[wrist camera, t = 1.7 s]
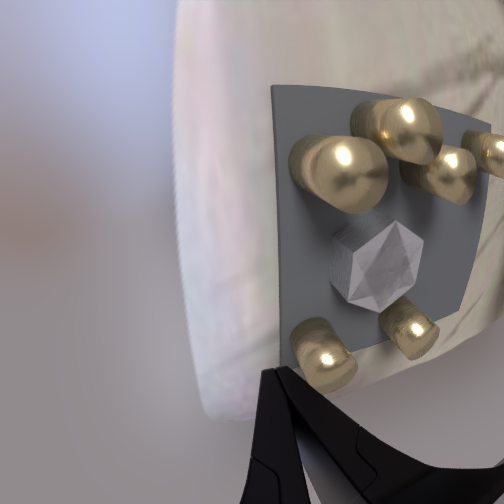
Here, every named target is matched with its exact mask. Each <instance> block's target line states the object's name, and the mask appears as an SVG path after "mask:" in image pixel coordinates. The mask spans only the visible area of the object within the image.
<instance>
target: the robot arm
mask: <svg viewBox="0 0 504 504" xmlns="http://www.w3.org/2000/svg"><path fill="white" fill-rule="evenodd" d="M301 461H302V462H301ZM302 464H303V466H304V468H305V470H306V472H307V474H308V477H309V478H310V481H311V483H312V485H313V487H314V489H315V491H316V493H317V495H318V497H319V500H320V502H321V504H504V459H503V460H501V461H500V462H499V463H498V464H496V465H495V466H494V467H493V468H484V469H483V468H482V469H455V468H454V469H453V468H452V469H451V468H438V467H433V466H430V465H427V464H424V463H422V462H420V461H418V460H416V459H414V458H411V457H410V456H408V455H406V454H404V453H402V452H400V451H398V450H396V449H395V448H393V447H391V446H389V445H388V444H386V443H384V442H383V441H381V440H379V439H378V438H376V437H375V436H374V435H372V434H371V433H369V432H368V431H367V430H366V429H364V428H363V427H362V426H360V427H359V424H358V423H356V422H355V421H354V420H352V419H351V418H350V417H348V416H347V415H346V414H345V413H344V412H342V411H341V410H340V409H339V408H337V407H336V406H335V405H334V404H332V403H331V402H330V401H329V400H327V399H326V398H325V397H324V396H323V395H321V394H320V393H319V392H318V391H317V390H315V389H314V388H313V387H312V386H311V385H309V384H308V383H307V382H306V381H305V380H303V379H302V378H301V377H300V376H299V375H298V374H296V373H295V372H294V371H293V370H292V369H291V368H290V367H288V366H286V365H284V366H279V367H276V368H275V369H274V368H270V369H265V370H262V372H261V379H260V388H259V396H258V404H257V411H256V419H255V427H254V434H253V442H252V449H251V458H250V463H249V469H248V475H247V480H246V484H245V487H244V491H243V495H242V498H241V501H240V504H311V502H310V498H309V494H308V489H307V485H306V480H305V476H304V471H303V466H302Z"/></svg>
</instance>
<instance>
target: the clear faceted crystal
mask: <svg viewBox="0 0 504 504" xmlns="http://www.w3.org/2000/svg"><path fill="white" fill-rule="evenodd" d="M423 243H424V240H422V239H421V238H420V237H418V236H417V235H416V234H414V233H413V232H411V231H410V230H409V229H407V228H406V227H405V226H403V225H402V224H400V223H399V222H397V221H396V220H394V219H392V218H390V217H389V216H387V215H385V214H383V213H381V212H379V211H377V210H375V209H373V208H371V209H370V210H368V211H366V212H364V213H362V214H361V215H360V216H358V217H357V218H355V219H354V220H353V221H351V222H350V223H349V224H347V225H346V226H345V227H343V228H342V229H341V230H339V231H338V232H336V233H335V234H334V235H332V247H331V263H330V277H329V281H330V282H331V283H332V284H333V286H334V287H335V288H336V289H337V290H338V291H339V292H340V294H341V295H342V296H343V297H344V298H345V299H346V301H347V302H349V303H352V304H355V305H358V306H361V307H364V308H367V309H370V310H373V311H376V312H379V313H381V312H382V311H383V310H384V309H386V308H387V307H388V306H389V305H391V304H392V303H393V302H394V301H396V300H397V299H398V298H399V297H400V296H402V295H403V294H404V293H405V292H406V291H408V290H409V289H410V288H411V287H412V286H413V285H414V284H415V282H416V277H417V273H418V268H419V264H420V259H421V254H422V248H423Z"/></svg>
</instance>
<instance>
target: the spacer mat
mask: <svg viewBox="0 0 504 504" xmlns="http://www.w3.org/2000/svg"><path fill="white" fill-rule="evenodd" d="M271 99H272V115H273V132H274V150H275V171H276V194H277V221H278V255H279V308H280V366H284V365H286V366H288V367H290V368H295V367H300V365H299V362H298V360H297V358H296V356H295V354H294V352H293V350H292V347H291V345H290V343H289V337H290V334H291V332H292V331H293V329H294V328H295V327H296V326H297V325H298V324H299V323H301V322H302V321H304V320H306V319H309V318H313V317H322V318H325V319H326V320H328V322H329V323H330V324H331V326H332V327H333V329H334V330H335V332H336V333H337V335H338V336H339V337H340V339H341V340H342V342H343V343H344V345H345V346H346V348H347V349H348V351H349V352H353V351H357V350H360V349H363V348H366V347H369V346H372V345H375V344H378V343H381V342H383V341H386V340H389V339H391V338H390V337H389V336H388V335H387V334H386V332H385V331H384V330H383V329H382V328H381V327H380V326H379V324H378V316H379V312H376V311H373V310H370V309H367V308H364V307H361V306H358V305H355V304H352V303H349V302H347V301H346V299H345V298H344V297H343V296H342V295H341V294H340V292H339V291H338V290H337V289H336V288H335V287H334V286H333V284H332V283H331V282H330V281H329V277H330V263H331V247H332V235H334V234H335V233H336V232H338V231H339V230H341V229H342V228H343V227H345V226H346V225H347V224H349V223H350V222H351V221H353V220H354V219H355V218H357V217H358V216H360V215H361V214H362V213H360V214H349V213H345V212H343V211H341V210H339V209H337V208H336V207H334V206H332V205H331V204H329V203H327V202H325V201H324V200H322V199H320V198H318V197H316V196H315V195H313V194H311V193H309V192H307V191H306V190H304V189H302V188H300V187H299V186H298V185H297V184H296V183H295V182H294V181H293V179H292V178H291V176H290V173H289V169H288V157H289V154H290V151H291V149H292V147H293V146H294V144H295V143H296V142H297V141H298V140H299V139H301V138H302V137H304V136H306V135H310V134H326V135H340V136H351V133H350V117H351V114H352V111H353V110H354V108H355V107H356V106H357V105H358V104H360V103H362V102H364V101H372V100H386V99H404V98H399V97H394V96H389V95H383V94H378V93H371V92H365V91H358V90H350V89H341V88H331V87H320V86H304V85H272V86H271ZM434 108H435V109H436V110H437V112H438V114H439V116H440V119H441V122H442V126H443V143H442V145H448V146H453V147H457V148H461V140H462V137H463V134H464V133H465V132H466V131H467V130H476V131H482V132H487V133H491V124H489V123H486V122H483V121H481V120H478V119H475V118H472V117H469V116H466V115H463V114H460V113H457V112H454V111H451V110H447V109H444V108H440V107H437V106H434ZM385 157H386V156H385ZM386 160H387V164H388V170H389V178H388V184H387V188H386V190H385V193H384V195H383V196H382V198H381V200H380V201H379V202H378V203H377V204H376V205H375V206H374V207H373V209H375V210H377V211H379V212H381V213H383V214H385V215H387V216H389V217H390V218H392V219H394V220H396V221H397V222H399V223H400V224H402V225H403V226H405V227H406V228H407V229H409V230H410V231H411V232H413V233H414V234H416V235H417V236H418V237H420V238H421V239H422V240H424V243H423V248H422V254H421V259H420V264H419V268H418V273H417V277H416V282H415V284H414V285H413V286H412V287H411V288H410V289H409V290H408V291H406V292H405V293H404V294H403V295H404V296H406V297H407V298H408V299H409V300H410V301H411V302H412V303H413V304H415V305H416V306H417V307H418V308H419V309H420V310H421V311H422V312H423V313H424V314H425V315H426V316H428V317H429V318H430V319H431V320H432V321H433V322H434V321H437V320H439V319H441V318H443V317H446V316H448V315H450V314H452V313H454V312H456V311H459V308H460V305H461V302H462V299H463V296H464V293H465V290H466V287H467V284H468V281H469V277H470V274H471V270H472V267H473V263H474V259H475V255H476V251H477V247H478V243H479V238H480V233H481V228H482V223H483V218H484V212H485V205H486V198H487V190H488V181H489V174H488V173H485V172H481V171H478V170H477V183H476V187H475V190H474V193H473V195H472V196H471V198H470V199H469V200H468V202H466V203H465V204H463V205H457V204H455V203H452V202H450V201H447V200H445V199H442V198H440V197H437V196H435V195H432V194H430V193H427V192H424V191H422V190H419V189H416V188H414V187H411V186H408V185H407V184H406V183H405V182H404V181H403V179H402V178H401V175H400V172H399V159H395V158H390V157H386ZM363 213H364V212H363Z"/></svg>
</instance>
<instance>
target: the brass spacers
mask: <svg viewBox="0 0 504 504" xmlns="http://www.w3.org/2000/svg"><path fill="white" fill-rule="evenodd" d="M350 133H351V136H340V135H326V134H310V135H306V136H304V137H302V138H301V139H299V140H298V141H297V142H296V143H295V144H294V146H293V147H292V149H291V151H290V154H289V157H288V169H289V173H290V176H291V178H292V179H293V181H294V182H295V183H296V184H297V185H298V186H299V187H300V188H302V189H304V190H306V191H307V192H309V193H311V194H313V195H315V196H316V197H318V198H320V199H322V200H324V201H325V202H327V203H329V204H331V205H332V206H334V207H336V208H337V209H339V210H341V211H343V212H345V213H349V214H360V213H363V212H366V211H368V210H370V209H371V208H373V207H374V206H375V205H376V204H377V203H378V202H379V201H380V200H381V198H382V196H383V195H384V193H385V190H386V188H387V184H388V178H389V170H388V164H387V160H386V157H390V158H395V159H399V172H400V175H401V178H402V179H403V181H404V182H405V183H406V184H407V185H408V186H411V187H414V188H416V189H419V190H422V191H424V192H427V193H430V194H432V195H435V196H437V197H440V198H442V199H445V200H447V201H450V202H452V203H455V204H457V205H463V204H465V203H466V202H468V200H469V199H470V198H471V196H472V195H473V193H474V190H475V187H476V183H477V170H478V171H481V172H485V173H488V174H491V175H494V176H497V177H500V178H503V179H504V136H502V135H497V134H492V133H487V132H482V131H476V130H467V131H466V132H465V133H464V134H463V137H462V140H461V148H457V147H453V146H448V145H442V143H443V126H442V122H441V119H440V116H439V114H438V112H437V110H436V109H435V108H434V106H433V105H432V104H431V103H429V102H428V101H426V100H424V99H421V98H405V99H386V100H372V101H364V102H362V103H360V104H358V105H357V106H356V107H355V108H354V110H353V111H352V114H351V117H350ZM385 156H386V157H385ZM378 324H379V326H380V327H381V328H382V329H383V330H384V331H385V332H386V334H387V335H388V336H389V337H390V338H391V339H392V341H393V342H394V343H395V344H396V345H397V346H398V348H399V349H400V350H401V351H402V352H403V353H404V355H405V356H406V357H407V358H408V359H409V360H416V359H418V358H420V357H422V356H423V355H424V354H426V353H427V352H428V351H429V350H430V349H431V347H432V346H433V345H434V343H435V342H436V340H437V338H438V336H439V331H440V330H439V327H438V326H437V325H436V324H435V323H434V322H433V321H432V320H431V319H430V318H429V317H428V316H426V315H425V314H424V313H423V312H422V311H421V310H420V309H419V308H418V307H417V306H416V305H415V304H413V303H412V302H411V301H410V300H409V299H408V298H407V297H406V296H404V295H402V296H400V297H399V298H398V299H397V300H396V301H394V302H393V303H392V304H391V305H389V306H388V307H387V308H386V309H384V310H383V311H382V312H381V313H379V316H378ZM289 343H290V345H291V347H292V350H293V352H294V354H295V356H296V358H297V360H298V362H299V365H300V367H301V369H302V371H303V373H304V375H305V377H306V379H307V382H308V384H309V385H311V386H312V387H313V388H314V389H315V390H317V391H318V392H319V393H320V394H325V393H330V392H333V391H336V390H338V389H340V388H341V387H343V386H344V385H346V384H347V383H348V382H349V381H350V380H351V379H352V378H353V377H354V375H355V374H356V372H357V368H358V366H357V363H356V361H355V360H354V358H353V357H352V355H351V354H350V352H349V351H348V349H347V348H346V346H345V345H344V343H343V342H342V340H341V339H340V337H339V336H338V335H337V333H336V332H335V330H334V329H333V327H332V326H331V324H330V323H329V322H328V320H326V319H325V318H322V317H313V318H309V319H306V320H304V321H302V322H301V323H299V324H298V325H297V326H296V327H295V328H294V329H293V331H292V332H291V334H290V337H289Z"/></svg>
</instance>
